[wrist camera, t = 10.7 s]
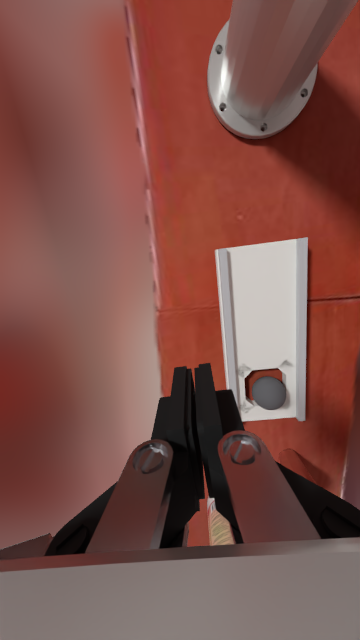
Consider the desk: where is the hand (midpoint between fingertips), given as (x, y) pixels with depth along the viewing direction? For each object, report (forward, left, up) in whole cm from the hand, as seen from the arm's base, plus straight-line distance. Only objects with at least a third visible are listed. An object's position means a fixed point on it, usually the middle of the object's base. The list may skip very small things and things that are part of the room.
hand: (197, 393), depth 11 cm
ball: (+15, +10, -22) cm, 29 cm away
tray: (+7, +10, -25) cm, 28 cm away
